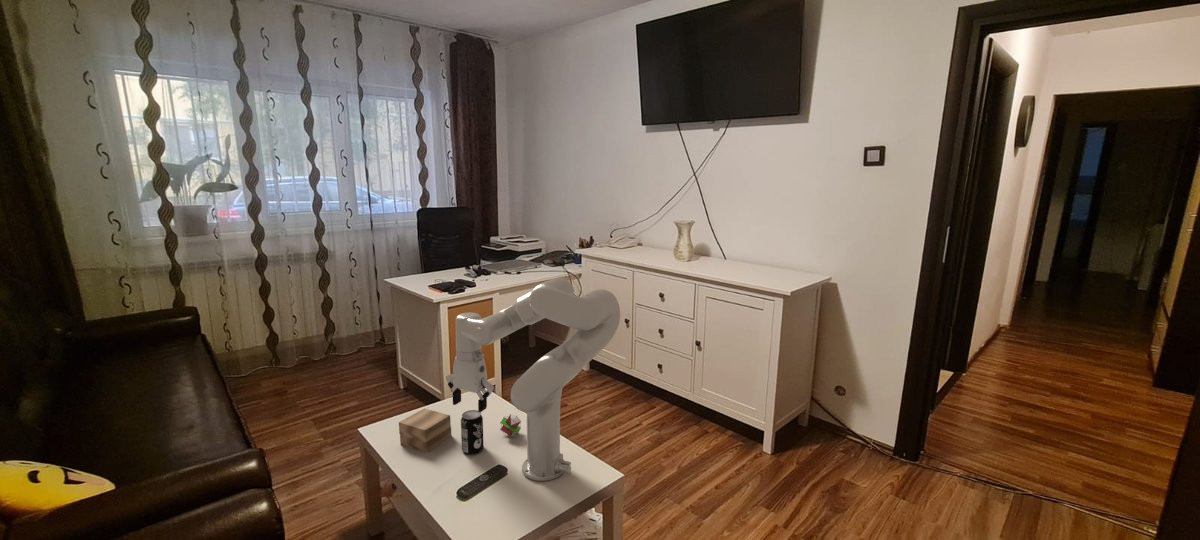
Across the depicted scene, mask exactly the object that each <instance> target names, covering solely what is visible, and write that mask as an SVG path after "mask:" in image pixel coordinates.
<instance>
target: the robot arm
mask: <svg viewBox="0 0 1200 540" xmlns="http://www.w3.org/2000/svg"><path fill="white" fill-rule="evenodd" d="M620 309H621V308H620V304H619V301H618V299H617V297H616V296H615V295H614V293H612V291H609V290H607V289H595V290H591V291H590V292H588V293H586V294H584V295H583V294H582V295H581V296H578V295H575V288H574V285H573V284H572V282H570V281H569V280H567V279H566V278H563V277H556V278H552V279H549V280H547V281H544V282H542V283H539V284H538V285H536V286H535V287H534V288H533V289H531V290H530V291H528V292H526V293H525V294H523V295H521V296H519V297H518V298H516V300H515V303H513V304H512V305H510V306H508V307H506V308H504V309H502V310H499V311H498V312H496V313H493V314H491V315H488V316H486V317H483V318H482V316H481V315H480V314H479V313H477V312H472V311H471V312H469V311H468V312H462V313H459V314H458V315H457V316H456V317H455V357H454V360H453V367H452V373H451V374H448V375H446V376H445V379H446V383H447V386H448V388H450V392H451V393H452V405H453V406H456V405H458V404H459V403H461V402H462V390H463V391H466V392H470V393H475V394H476V395H477V396H478V398H479V399H478V403H477V405H478V406H477V407H478V409H477V411H479V412H481V413H482V412H484V411H485V410H486V409H487V407H488V405H487V403H488V401H487V400H488V399H487V398H488V397H489V396H490V395H491V394H492V393H493V391H494V389H495V387H494V385H493V384H491V382H489V381H488V372H487V365H486V362H485V358H484V357H485V353H483V350H482V349H483V348H482V347H483V346H488V345H491V344H493V343H495V342H497V341H499V340H501V339H502V338H505V337H507V336H509V335H511V334H512V333H515V332H516V331H518V330H520V329H523V328H524V327H526V326H528V325H530V326H531V325H534V324H535V323H538V322H540V321H542V320H544V319H547V320H549V321H553V322H554V323H558V324H560V325H563V326H566V327H568V328H572V329H575V330H576V331H574V333H573V334H572V335H571V336H570V337H568V339H566V340H565V341H564V342H562V343H561V344H560V345H559V346H556V347H555V348H553V349H551V350H550V351H549V352H547V353H546V354H544V355H543V356H541V357H540V358H539V359H538V360H536V362H534V363H533V364H532V365H531V366H530V367H529V368H528V369H527V370H526V371H525V372H524V373H523V374H522V375H521V376H520V377H519V378H518V379H516V381H514V383H513V385H512V387H511V389H510V400H511V404H512V405H513V406H514V407H515V409H517V410H518V411H520V412H523V413H526V445H527V446H526V450H527V451H526V453H527V454H526V455H527V459H525V460H524V461H523V463H522V465H521V472H522V474H523V475H524V476H525V477H526V478H528V479H529V480H533V481H536V482H537V481H539V482H543V481H544V482H545V481H546V482H547V481H551V480H554V479H557V478H558V477H560V476H562V475H563V473H565V474H570V473H571V471H572V467H571V466H572V462H571V461H568V460H565V459H564V453H561V402H562V394H563V388H564V387H565V386H566V385H567V384H569V382H571V381H572V380H573V379H574V378H575V377H576V376H578V374H579V373H580V372H581V371H582V369H584V367H585V366H587V365H588V364H589V363H590V362H591V361H592V360H593V359H594V358H595V357H597V355H598V354H599V353H600V352H601V351H603V350H604V349H605V347H606V346H607V345H608V344H609V343H610V342H611V341H612V339H613V337H614V336H615V334H616V333H617V330H618V327H619V325H620V322H621V321H620V320H621V310H620Z"/></svg>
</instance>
